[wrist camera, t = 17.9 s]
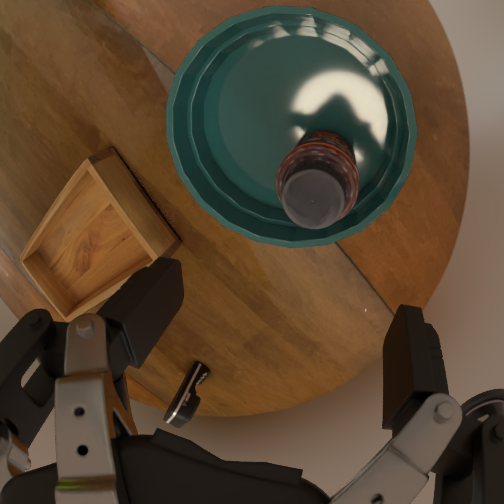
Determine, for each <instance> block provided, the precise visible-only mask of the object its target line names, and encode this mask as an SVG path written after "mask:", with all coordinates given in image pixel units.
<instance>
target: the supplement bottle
mask: <svg viewBox="0 0 504 504" xmlns="http://www.w3.org/2000/svg"><path fill="white" fill-rule="evenodd" d="M276 189H277V194H278V197H279V200H280V202H281V203H282V205H283V208H284V210H285V212H286V214H287V215H288V216H289V218H290V219H291V220H292V221H293V222H294V223H296V224H298V225H299V226H302V227H304V228H308V229H322V228H325V227H328V226H330V225H332V224H333V223H335V222H336V221H338V220H340V219H341V218H343V217H344V216H345V215H346V214H348V212H349V211H350V210H351V209H352V207H353V206H354V204H355V202H356V200H357V197H358V192H359V178H358V170H357V163H356V156H355V153H354V150H353V148H352V146H351V145H350V143H349V142H348V141H347V140H346V139H345V138H344V137H343V136H341V135H340V134H338V133H336V132H334V131H330V130H316V131H312V132H310V133H308V134H306V135H305V136H304V137H302V138H301V139H300V140H299V141H298V142H297V144H296V145H295V146H294V147H293V149H292V150H291V151H290V152H289V153H288V155H287V156H286V157H285V159H284V160H283V161H282V163H281V165H280V167H279V169H278V172H277V177H276Z"/></svg>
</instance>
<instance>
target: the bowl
mask: <svg viewBox="0 0 504 504" xmlns="http://www.w3.org/2000/svg"><path fill="white" fill-rule="evenodd" d="M166 129H167V143H168V146H169V149H170V152H171V155H172V158H173V161H174V164H175V167H176V170H177V173H178V176H179V177H180V178H181V180H182V181H183V183H184V184H185V186H186V187H187V189H188V190H189V192H190V193H191V195H192V196H193V198H194V199H195V200H196V202H197V203H198V205H200V206H201V207H202V208H203V209H204V210H206V211H207V212H208V213H209V214H210V215H211V216H213V217H214V218H215V219H216V220H217V221H218V222H220V223H221V224H222V225H223V226H224V227H226V228H228V229H230V230H233V231H235V232H237V233H239V234H241V235H243V236H245V237H247V238H249V239H252V240H254V241H256V242H260V243H266V244H271V245H277V246H282V247H288V248H300V247H310V246H320V245H328V244H331V243H334V242H336V241H338V240H341V239H343V238H346V237H348V236H351V235H353V234H355V233H358V232H360V231H362V230H364V229H365V228H366V227H367V226H368V225H370V224H371V223H372V222H373V221H374V220H375V219H377V218H378V217H379V216H380V215H381V214H383V213H384V212H385V211H386V210H387V209H388V208H390V206H391V205H392V203H393V201H394V200H395V198H396V197H397V195H398V193H399V192H400V190H401V188H402V186H403V185H404V183H405V181H406V180H407V178H408V176H409V173H410V171H411V166H412V161H413V156H414V151H415V146H416V140H417V134H418V133H417V126H416V119H415V113H414V107H413V101H412V96H411V92H410V90H409V88H408V86H407V84H406V82H405V81H404V79H403V77H402V75H401V73H400V72H399V70H398V68H397V66H396V65H395V63H394V61H393V59H392V58H391V56H390V55H389V54H388V53H387V52H386V51H385V50H384V49H383V48H382V47H381V46H380V45H379V44H378V43H377V42H375V41H374V40H373V39H372V38H371V37H370V36H369V35H367V34H366V33H365V32H364V31H363V30H361V29H360V28H359V27H358V26H357V25H355V24H353V23H351V22H348V21H346V20H344V19H341V18H339V17H336V16H334V15H331V14H329V13H326V12H324V11H321V10H318V9H315V8H314V9H313V8H309V7H292V6H267V7H264V8H260V9H256V10H253V11H249V12H246V13H243V14H240V15H237V16H234V17H231V18H229V19H227V20H226V21H224V22H223V23H221V24H220V25H219V26H217V27H216V28H214V29H213V30H212V31H210V32H209V33H208V34H206V35H205V36H204V37H202V38H201V39H200V40H198V42H197V43H196V44H195V45H194V47H193V48H192V50H191V51H190V52H189V54H188V55H187V57H186V58H185V60H184V61H183V62H182V64H181V65H180V67H179V68H178V70H177V72H176V74H175V77H174V80H173V84H172V87H171V90H170V94H169V97H168V101H167V104H166ZM316 130H330V131H334V132H336V133H338V134H340V135H341V136H343V137H344V138H345V139H346V140H347V141H348V142H349V143H350V145H351V146H352V148H353V150H354V153H355V156H356V163H357V170H358V178H359V192H358V197H357V200H356V202H355V204H354V206H353V207H352V209H351V210H350V211H349V212H348V214H346V215H345V216H344V217H343V218H341V219H340V220H338V221H336V222H335V223H333V224H332V225H330V226H328V227H325V228H322V229H308V228H304V227H302V226H299V225H298V224H296V223H294V222H293V221H292V220H291V219H290V218H289V216H288V215H287V214H286V212H285V210H284V208H283V205H282V203H281V202H280V200H279V197H278V194H277V189H276V177H277V172H278V169H279V167H280V165H281V163H282V161H283V160H284V159H285V157H286V156H287V155H288V153H289V152H290V151H291V150H292V149H293V147H294V146H295V145H296V144H297V142H298V141H299V140H300V139H301V138H302V137H304V136H305V135H306V134H308V133H310V132H312V131H316Z"/></svg>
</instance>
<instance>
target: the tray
mask: <svg viewBox="0 0 504 504" xmlns="http://www.w3.org/2000/svg"><path fill="white" fill-rule="evenodd" d="M180 245H181V241H180V240H179V239H178V237H177V236H176V235H175V234H174V232H173V231H172V230H171V228H170V227H169V225H168V224H167V223H166V221H165V220H164V219H163V217H162V216H161V215H160V213H159V212H158V210H157V209H156V208H155V206H154V205H153V204H152V202H151V201H150V199H149V198H148V197H147V195H146V194H145V192H144V191H143V190H142V188H141V187H140V186H139V184H138V183H137V181H136V180H135V178H134V177H133V176H132V174H131V173H130V171H129V170H128V168H127V167H126V166H125V164H124V163H123V161H122V160H121V158H120V157H119V155H118V154H117V152H116V151H115V150H114V148H110V149H106V150H104V151H102V152H99V153H97V154H94V155H92V156H90V157H88V158H86V160H85V161H84V162H83V163H82V165H81V166H80V167H79V168H78V170H77V171H76V172H75V174H74V175H73V176H72V177H71V179H70V180H69V182H68V183H67V184H66V186H65V187H64V188H63V190H62V191H61V193H60V194H59V195H58V197H57V198H56V200H55V201H54V203H53V204H52V206H51V207H50V209H49V210H48V212H47V213H46V215H45V216H44V218H43V219H42V221H41V222H40V224H39V226H38V227H37V229H36V230H35V232H34V234H33V235H32V237H31V239H30V240H29V242H28V244H27V245H26V247H25V249H24V251H23V253H22V254H21V256H20V258H19V260H20V262H21V263H22V265H23V266H24V268H25V269H26V271H27V272H28V274H29V275H30V276H31V278H32V279H33V281H34V282H35V283H36V285H37V286H38V287H39V289H40V290H41V291H42V293H43V294H44V295H45V296H46V298H47V299H48V300H49V302H50V303H51V304H52V305H53V307H54V308H55V309H56V310H57V311H58V313H59V314H60V315H61V316H62V317H63V319H64V320H65V321H66V322H69V321H70V320H72V319H74V318H75V317H77V316H79V315H80V314H82V313H83V312H85V311H87V310H88V309H90V308H91V307H93V306H95V305H96V304H98V303H100V302H101V301H103V300H105V299H106V298H108V297H110V296H111V295H113V294H114V293H115V292H116V291H117V290H118V289H120V287H121V286H122V285H123V284H124V283H126V280H127V279H128V278H129V277H130V276H131V275H132V274H133V273H134V272H136V271H138V270H140V269H141V268H143V267H145V266H147V267H149V266H150V265H151V264H152V263H153V262H154V261H155V260H156V259H157V258H158V257H159V256H163V257H167V258H170V257H171V256H172V255H173V254H174V253H175V252H176V251H177V249H178V248H179V247H180Z"/></svg>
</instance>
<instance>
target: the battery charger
mask: <svg viewBox="0 0 504 504" xmlns="http://www.w3.org/2000/svg"><path fill="white" fill-rule="evenodd" d="M209 373H210V371H209V369H208V368H206V367H205V366H203V365H202V364H201V363H198V362H196V363H195V364H194V365H193V367H192V368H191V369H190V371H189V372H188V373H187V375H186V376H185V378H184V380H183V382H182V384H181V386H180V388H179V390H178V391H177V393H176V395H175V397H174V399H173V401H172V403H171V404H170V406H169V408H168V410H167V412H166V414H165V416H164V419H163V420H164V421H166V423H169V424H171V425H173V426H175V427H177V428H181V427H183V426H184V425H185V424H186V423H188V422H189V421H190V420H191V418H192V417H193V415H194V413H195V411H196V409H197V407H198V406H199V403H200V400H201V399H200V397H198V396H197V395H195V394H196V390H195V385H197V384H201V383H202V382H203V381H204V380H205V378H206V377H207V376H208V375H209Z"/></svg>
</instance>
